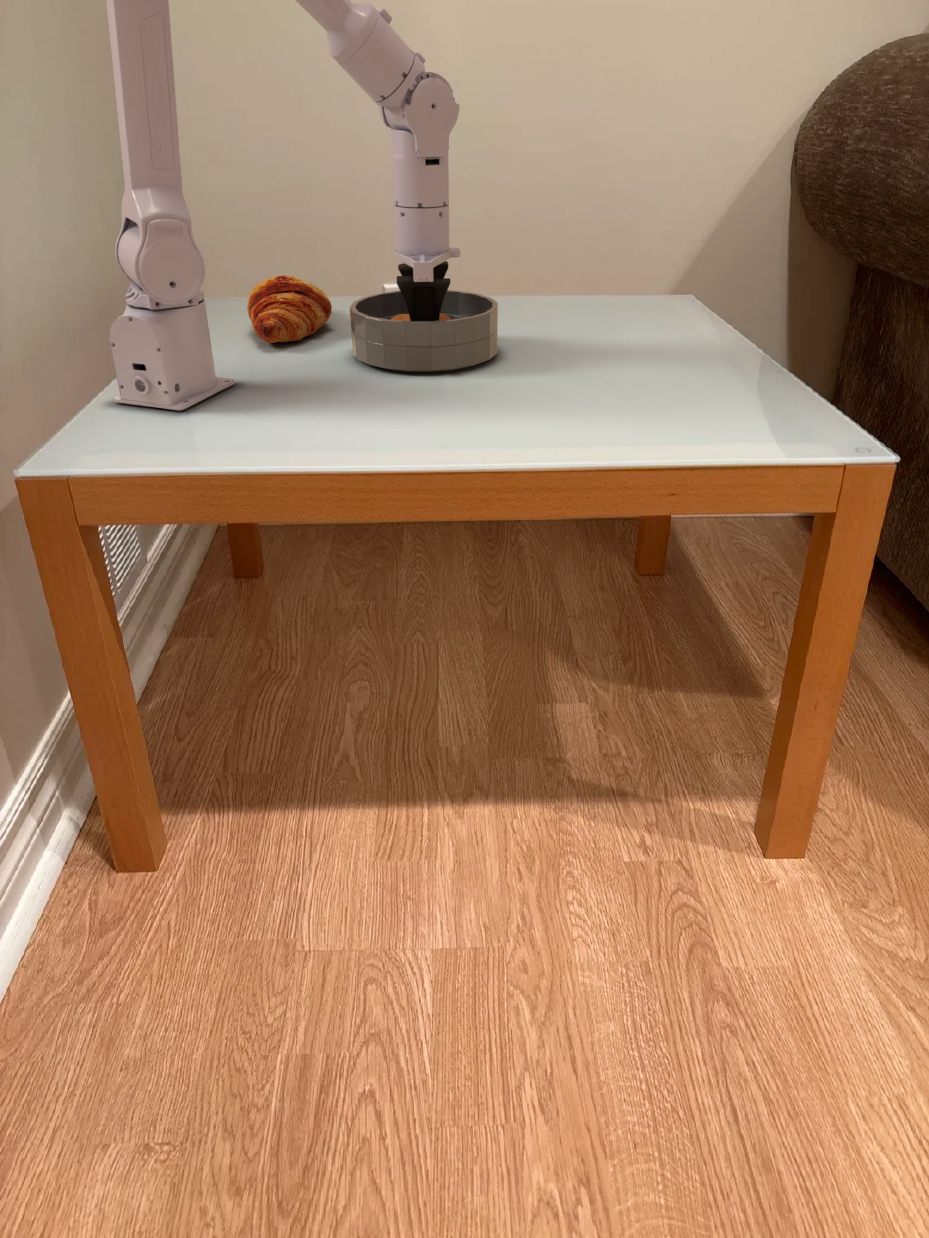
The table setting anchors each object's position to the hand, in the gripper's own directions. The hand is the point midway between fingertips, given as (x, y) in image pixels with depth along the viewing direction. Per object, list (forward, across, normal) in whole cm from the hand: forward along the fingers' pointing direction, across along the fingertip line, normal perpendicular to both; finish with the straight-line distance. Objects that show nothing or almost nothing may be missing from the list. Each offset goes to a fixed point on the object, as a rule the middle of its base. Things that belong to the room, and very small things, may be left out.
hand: (425, 336), depth 103 cm
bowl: (+2, 0, 0) cm, 2 cm away
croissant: (+2, +12, +16) cm, 21 cm away
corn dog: (+2, 0, -1) cm, 2 cm away
